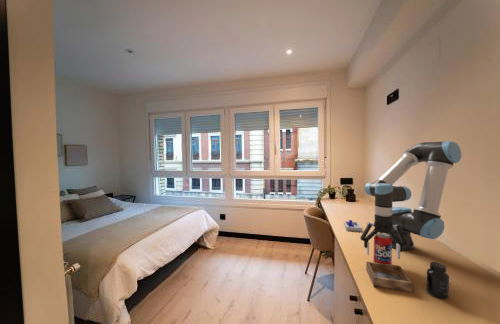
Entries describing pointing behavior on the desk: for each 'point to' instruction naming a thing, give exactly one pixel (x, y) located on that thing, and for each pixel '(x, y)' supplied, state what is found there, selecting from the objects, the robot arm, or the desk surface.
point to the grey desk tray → (355, 228)
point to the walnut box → (389, 277)
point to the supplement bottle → (437, 281)
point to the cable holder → (350, 223)
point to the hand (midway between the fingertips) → (382, 255)
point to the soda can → (382, 248)
